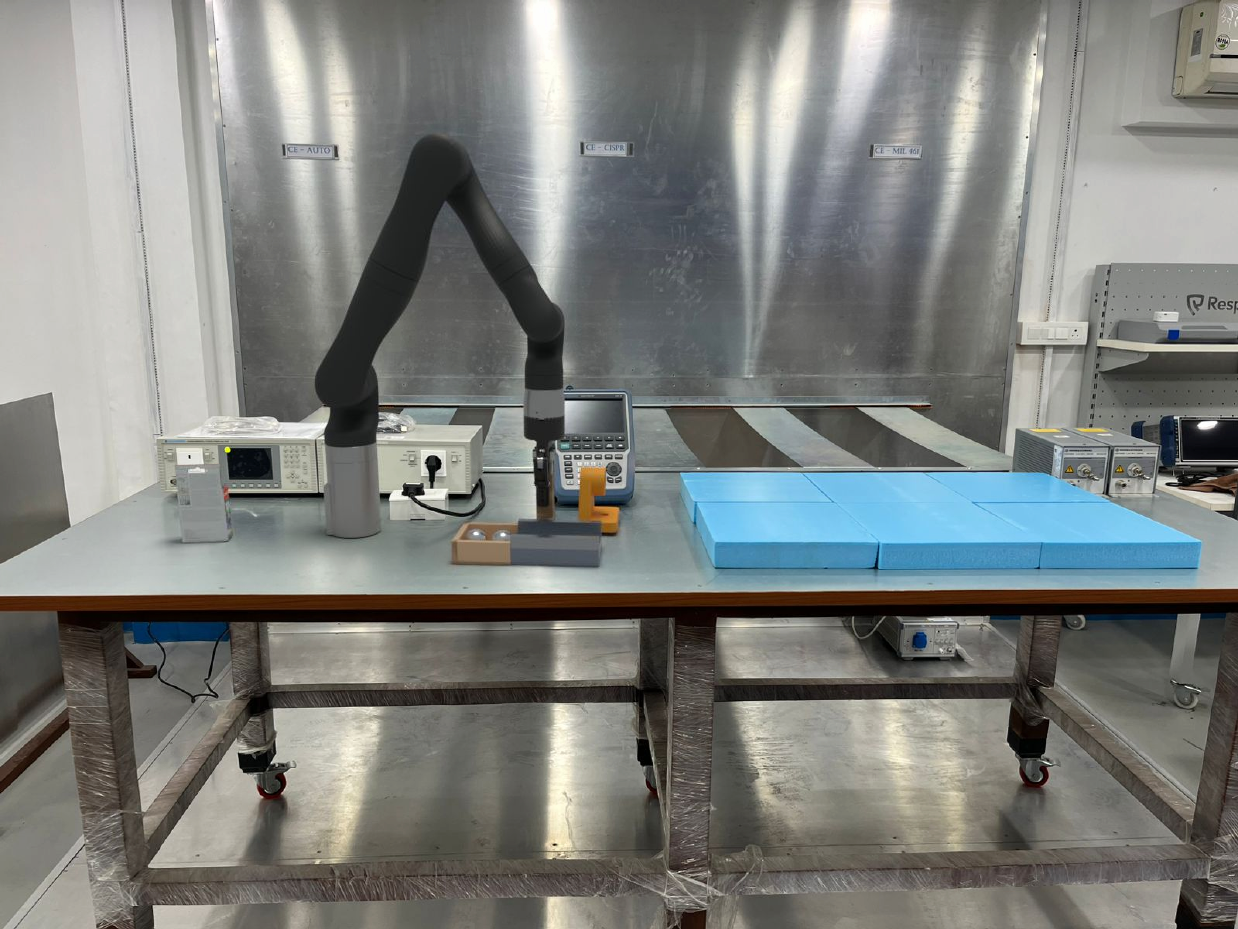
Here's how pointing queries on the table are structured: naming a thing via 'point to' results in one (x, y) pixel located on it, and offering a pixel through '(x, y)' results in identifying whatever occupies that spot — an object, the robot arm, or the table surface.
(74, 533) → the table surface
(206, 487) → the ink box
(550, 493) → the tall wooden post
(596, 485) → the bracket
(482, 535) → the ball
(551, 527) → the slot rail
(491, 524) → the tray
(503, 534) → the ball
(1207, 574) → the table surface
